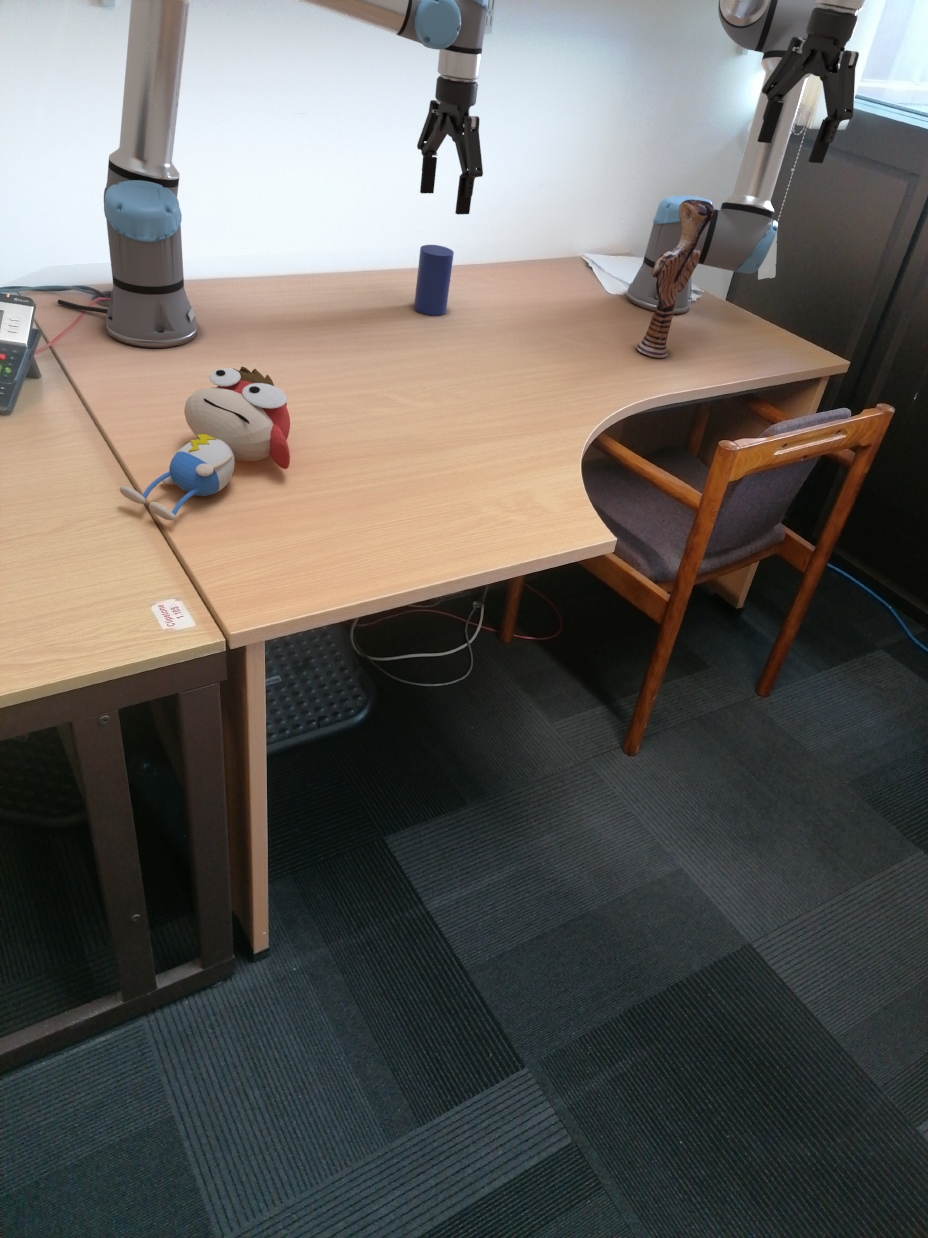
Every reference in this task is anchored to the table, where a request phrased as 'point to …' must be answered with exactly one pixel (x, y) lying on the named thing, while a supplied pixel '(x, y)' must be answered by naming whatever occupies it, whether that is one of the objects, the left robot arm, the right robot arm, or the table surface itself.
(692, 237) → the figurine
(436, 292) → the canister
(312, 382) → the table surface
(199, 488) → the toy
